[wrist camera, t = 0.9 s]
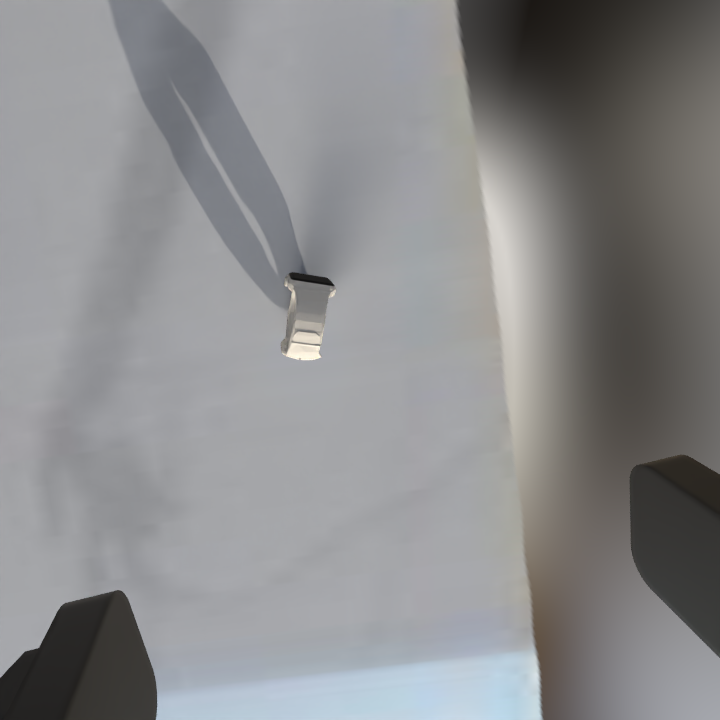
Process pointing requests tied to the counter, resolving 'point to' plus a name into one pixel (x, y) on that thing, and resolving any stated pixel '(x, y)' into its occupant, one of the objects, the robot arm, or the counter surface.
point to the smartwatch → (306, 315)
